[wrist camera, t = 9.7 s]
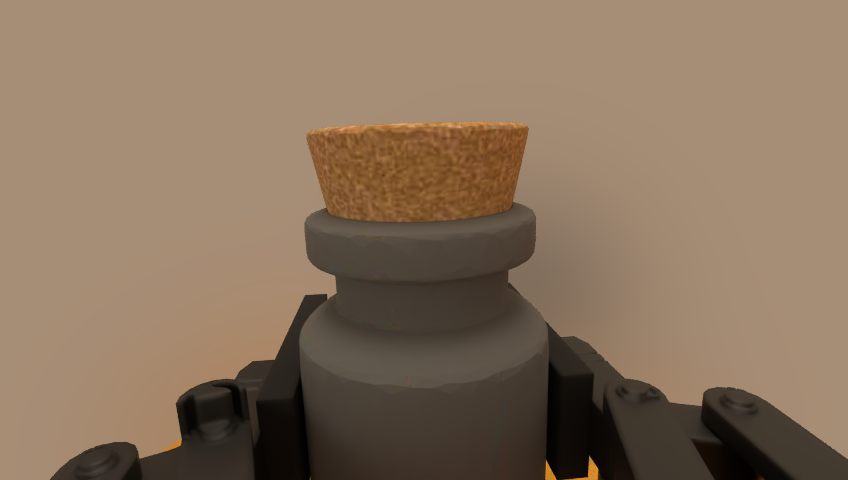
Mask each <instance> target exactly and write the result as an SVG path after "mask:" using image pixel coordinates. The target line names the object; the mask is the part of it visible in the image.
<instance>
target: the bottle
mask: <svg viewBox="0 0 848 480" xmlns="http://www.w3.org/2000/svg"><path fill="white" fill-rule="evenodd" d="M528 130H529V128H528V126H527V125H525V124H520V123H510V122H446V123H411V124H409V123H408V124H380V125H362V126H361V125H360V126H344V127H331V128H320V129H314V130H311V131H309V132H308V133H307V138H306V139H307V142H308V145H309V149H310V152H311V155H312V159H313V162H314V166H315V169H316V173H317V176H318V179H319V183H320V186H321V190H322V193H323V197H324V200H325V204H326V207H327V208H324V209H321V210H319V211H316V212H314V213H312V214H311V215H310V216H308V217H307V218H306V221H305V240H306V250H307V256H308V259H309V260H310V262H311V263H312V264H313V265H314V266H316V267H317V268H318V269H320V270H322V271H324V272H326V273H329V274H332V275H335V277H336V289H337V293H336V294H335V295H333V296H332V297H330V298H329V299H328V300H326V301H325V302H324V303H322V304H321V305H320V306H319V307H318V308H317V309H316V310H315V311H314V312H313V313H312V314H311V315H310V316H309V318H308V319H307V320H306V322H305V323H304V325H303V327H302V329H301V333H300V338H299V347H300V368H301V382H302V393H303V404H304V414H305V425H306V436H307V447H308V457H309V468H310V479H311V480H545V469H546V443H547V408H548V363H549V345H548V328H547V325H546V323H545V320H544V318H543V317H542V315H541V314H540V312H539V311H538V310H537V309H536V308H535V307H534V306H533V305H532V304H531V303H530V302H528V301H527V300H526V299H525V298H523V297H522V296H521V295H519V294H518V293H516V292H515V291H513V290H511V289H510V288H508V270H509V269H512V268H514V267H517V266H519V265H521V264H522V263H524V262H526V261H527V260H528V259H529V258H530V257H531V256H532V254H533V253H534V248H535V241H536V236H535V235H536V217H535V214H534V212H533V210H531V209H530V208H528V207H526V206H524V205H521V204H519V203H515V202H513V198H514V194H515V189H516V185H517V180H518V175H519V171H520V167H521V162H522V157H523V153H524V149H525V144H526V139H527V135H528Z"/></svg>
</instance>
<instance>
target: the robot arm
mask: <svg viewBox="0 0 848 480" xmlns="http://www.w3.org/2000/svg"><path fill="white" fill-rule="evenodd" d="M508 288H510V289H511V290H513V291H515V292H516V293H518V294H519V295H520V293H519V292H518V291H517V290H516V289H515V288H514V287H513V286H512V285H511V284H510V283H508ZM326 300H327V294H318V295H305V297H304V299H303V301H302V303H301V305H300V307H299V310H298V312H297V314H296V316H295V318H294V320H293V322H292V325H291V327H290V329H289V331H288V333H287V335H286V337H285V339H284V341H283V344H282V346H281V348H280V350H279V352H278V354H277V356H276V359H275V360H266V361H253V362H251V363H250V364H249V365H248V366H246V367H245V368H243V369H242V370H241V371H240V372H239V373H238V375H237V377H236V379H235V380H233V379H221V380H213V381H210V382H206V383H203V384H200V385H198V386H196V387H194V388H191V389H189V390H188V391H187V392H185V393H184V394H183V395H182V396H180V398H179V399H178V401H177V403H176V407H177V413H178V419H179V425H180V431H181V437H182V442H181V446H179V447H177V448H175V449H172V450H169V451H166V452H162V453H159V454H155V455H152V456H149V457H145V458H141V459H139V455H138V451H137V448H136V446H135V445H133V444H130V443H128V442H114V443H109V444H104V445H99V446H96V447H95V448H91V449H88V450H86V451H84V452H83V453H81V454H79V455H78V456H76V457H74V458H73V459H71V460H69V461H68V462H67V463H66V464H65V465H64V466H63V467H61V468H60V469H59V470H58V471H57V472H56V473H55V474H54V476H53V477H52V478H51V479H50V480H310V468H309V457H308V447H307V436H306V425H305V414H304V404H303V393H302V382H301V368H300V347H299V338H300V333H301V329H302V327H303V325H304V323H305V322H306V320H307V319H308V318H309V316H310V315H311V314H312V313H313V312H314V311H315V310H316V309H317V308H318V307H319V306H320V305H321V304H322V303H324V302H325V301H326ZM545 323H546V325H547V328H548V345H549V363H548V408H547V443H546V460H547V462H548V464H549V466H550V468H551V470H552V472H553V474H554V475H555V477H556V479H557V480H565V479H575V478H584V477H588V466H589V456H590V457H591V458H592V460H593V461H594V463H595V464H596V466H597V467H598V480H848V459H846V458H845V457H844V456H842V455H841V454H839V453H838V452H837V451H835V450H834V449H832V448H831V447H830V446H828V445H827V444H826V443H824V442H823V441H821V440H820V439H819V438H817V437H816V436H814V435H813V434H812V433H810V432H809V431H807V430H806V429H804V428H803V427H802V426H800V425H799V424H798V423H796V422H795V421H793V420H792V419H791V418H789V417H788V416H786V415H785V414H784V413H782V412H781V411H780V410H778V409H777V408H775V407H774V406H772V405H771V404H770V403H768V402H767V401H765V400H763V399H761V398H760V397H758V396H756V395H753V394H751V393H748V392H746V391H744V390H741V389H735V388H731V387H727V388H722V387H716V388H711V389H708V390H707V391H705V392H704V395H703V402H702V406H695V405H685V404H676V403H670V402H669V401H668V400H667V398H666V396H665V395H664V394H663V393H662V392H661V391H660V390H659V389H657V388H655V387H654V386H652V385H650V384H647V383H644V382H642V381H638V380H631V379H625V378H624V377H623V376H622V375H621V374H620V373H618V372H617V371H616V370H615V369H614V368H613V367H612V366H611V365H610V364H609V363H608V362H607V361H605V360H604V358H603V357H602V356H601V355H600V354H597V352H596V350H594V349H593V348H592V347H591V346H590V345H589V344H588V343H586V342H584V341H582V340H580V339H578V338H576V337H574V336H571V337H560V336H559V335H558V334H557V333H556V332H555V331H554V330H553V329H552V328H551V327H550V326H549V325H548V323H547V322H546V321H545Z"/></svg>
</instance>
